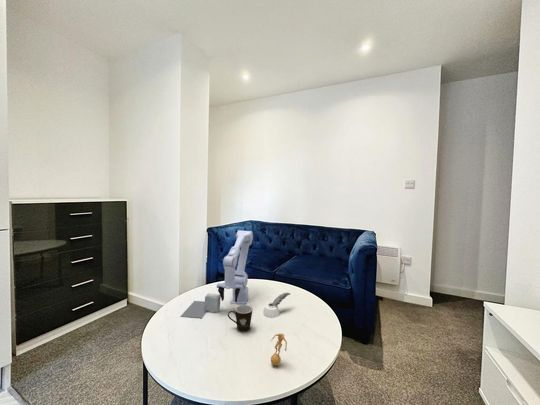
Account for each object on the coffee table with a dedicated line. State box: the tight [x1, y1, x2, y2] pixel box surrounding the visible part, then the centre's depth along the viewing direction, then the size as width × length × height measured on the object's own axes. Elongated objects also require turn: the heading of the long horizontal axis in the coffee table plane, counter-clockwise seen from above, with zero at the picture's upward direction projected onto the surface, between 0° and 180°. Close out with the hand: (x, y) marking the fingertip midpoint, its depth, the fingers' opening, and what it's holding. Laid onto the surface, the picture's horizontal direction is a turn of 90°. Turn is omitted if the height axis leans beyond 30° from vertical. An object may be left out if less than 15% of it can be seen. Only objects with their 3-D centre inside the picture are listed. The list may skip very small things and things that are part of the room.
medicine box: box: [204, 292, 221, 313], centre depth 135 cm, size 8×4×9 cm, turn 84°
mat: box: [180, 300, 208, 319], centre depth 136 cm, size 12×18×1 cm, turn 174°
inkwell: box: [262, 292, 291, 318], centre depth 136 cm, size 9×18×10 cm, turn 125°
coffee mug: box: [227, 304, 253, 333], centre depth 119 cm, size 12×9×10 cm
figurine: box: [270, 332, 288, 367], centre depth 95 cm, size 8×6×12 cm
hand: (229, 300), depth 134 cm, fingers open, 7 cm apart
